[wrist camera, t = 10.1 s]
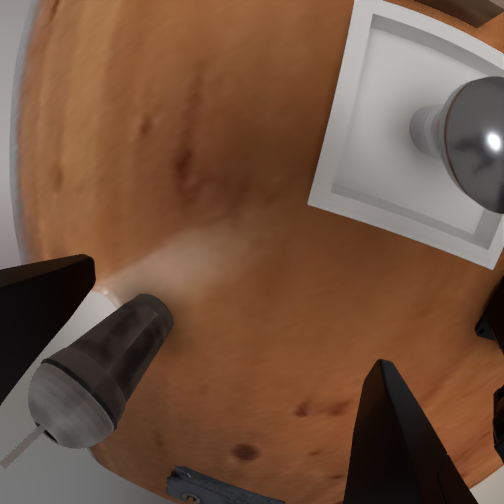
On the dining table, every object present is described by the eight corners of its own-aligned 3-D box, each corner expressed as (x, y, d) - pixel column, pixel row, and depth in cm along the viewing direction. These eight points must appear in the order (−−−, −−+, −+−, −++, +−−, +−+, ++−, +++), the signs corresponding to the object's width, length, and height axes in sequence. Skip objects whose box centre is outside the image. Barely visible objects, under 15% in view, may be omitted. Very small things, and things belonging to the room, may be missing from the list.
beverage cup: (192, 350, 28) (75, 525, 11) (132, 337, 30) (13, 475, 13) (177, 284, 25) (7, 474, 8) (113, 277, 27) (-44, 415, 10)
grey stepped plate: (268, 516, 47) (262, 533, 43) (171, 481, 50) (162, 497, 46) (292, 500, 40) (286, 522, 36) (173, 458, 43) (162, 478, 39)
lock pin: (472, 111, 13) (562, 116, 5) (454, 178, 15) (530, 232, 7) (407, 83, 14) (463, 52, 6) (389, 153, 16) (431, 185, 8)
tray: (520, 86, 12) (547, 84, 9) (474, 247, 17) (492, 270, 14) (354, 13, 14) (355, -7, 11) (313, 190, 19) (307, 204, 16)
